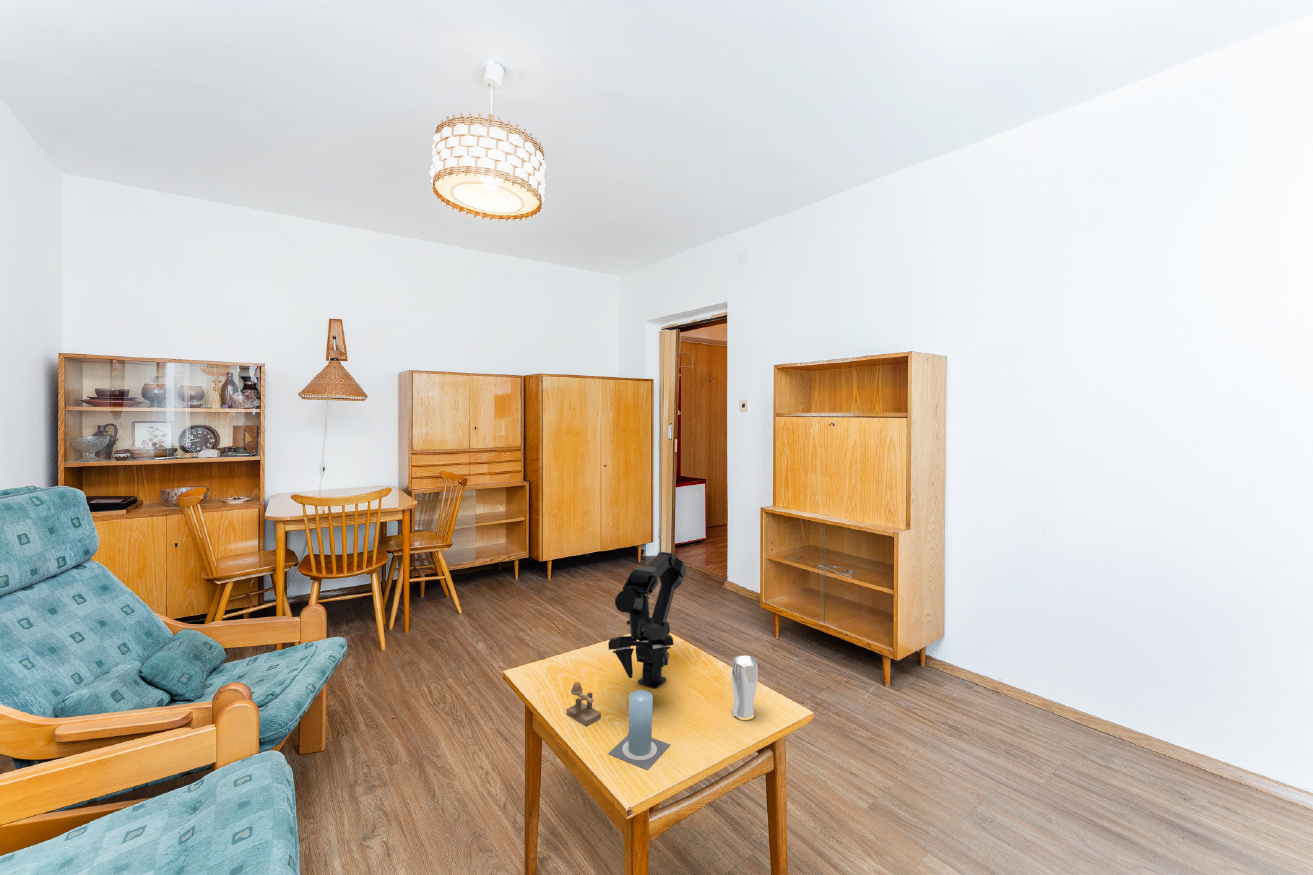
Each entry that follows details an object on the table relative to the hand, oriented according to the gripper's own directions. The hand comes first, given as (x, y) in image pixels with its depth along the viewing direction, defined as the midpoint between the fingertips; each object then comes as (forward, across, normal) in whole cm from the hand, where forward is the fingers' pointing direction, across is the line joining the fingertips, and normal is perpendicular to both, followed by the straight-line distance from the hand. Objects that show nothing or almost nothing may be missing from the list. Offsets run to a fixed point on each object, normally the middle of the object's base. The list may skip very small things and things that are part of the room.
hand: (644, 676), depth 142 cm
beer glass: (+12, +25, -10) cm, 30 cm away
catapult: (+8, -10, +15) cm, 20 cm away
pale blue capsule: (+16, -6, -4) cm, 17 cm away
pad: (+16, -6, -4) cm, 18 cm away
